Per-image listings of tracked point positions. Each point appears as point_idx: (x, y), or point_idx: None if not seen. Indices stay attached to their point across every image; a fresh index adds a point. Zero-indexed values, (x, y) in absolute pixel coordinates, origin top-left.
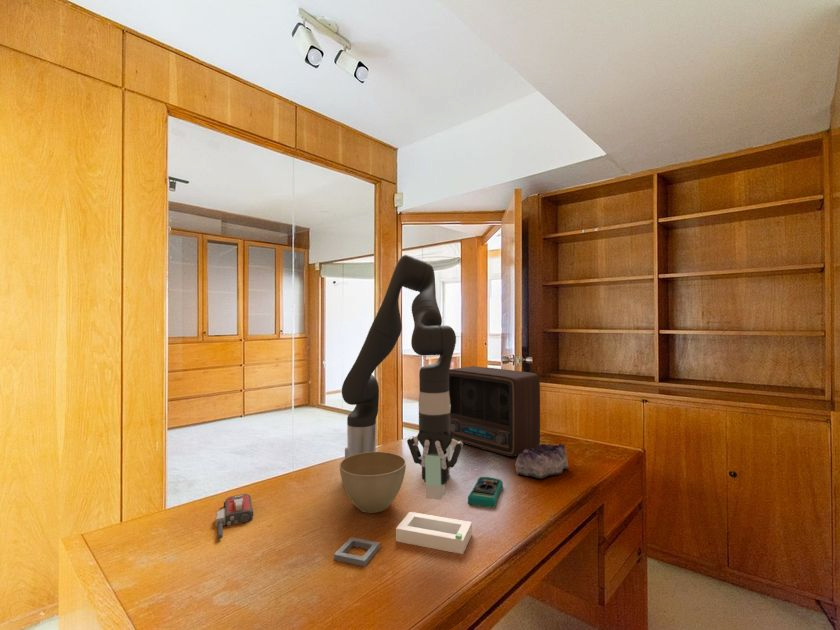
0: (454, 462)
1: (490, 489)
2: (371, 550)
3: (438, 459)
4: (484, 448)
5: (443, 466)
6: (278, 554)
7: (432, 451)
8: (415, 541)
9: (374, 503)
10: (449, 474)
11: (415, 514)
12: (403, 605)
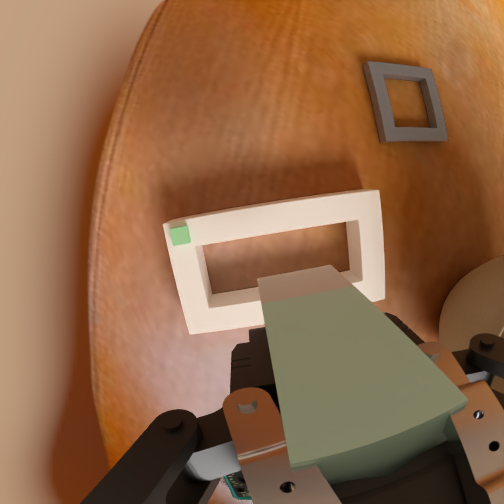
0: (139, 443)
1: (238, 474)
2: (382, 102)
3: (306, 431)
4: None
5: (250, 401)
6: (490, 72)
7: (411, 478)
8: (311, 196)
9: (471, 274)
10: None
11: (364, 293)
12: (214, 5)
